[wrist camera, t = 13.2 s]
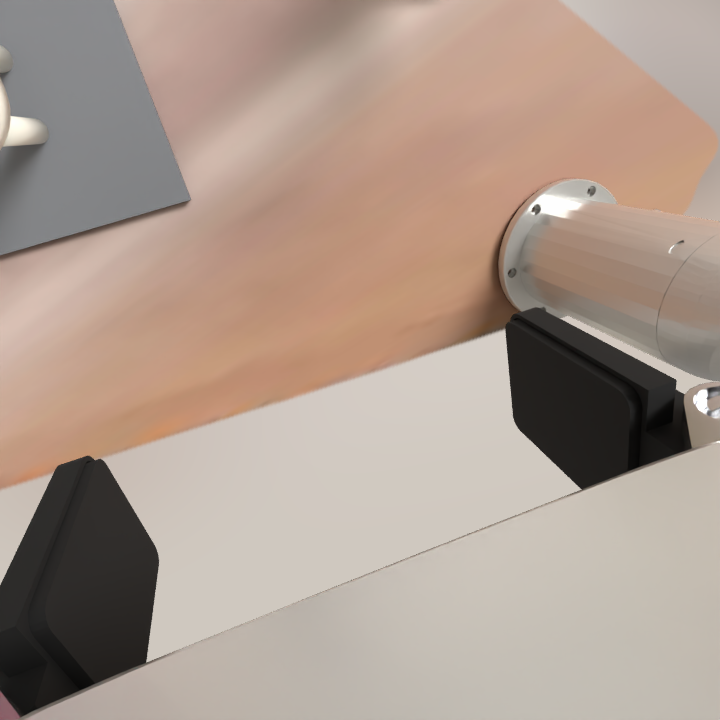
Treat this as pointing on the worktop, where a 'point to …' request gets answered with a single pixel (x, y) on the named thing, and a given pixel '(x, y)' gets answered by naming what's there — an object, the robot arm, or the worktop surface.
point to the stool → (12, 129)
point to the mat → (78, 125)
